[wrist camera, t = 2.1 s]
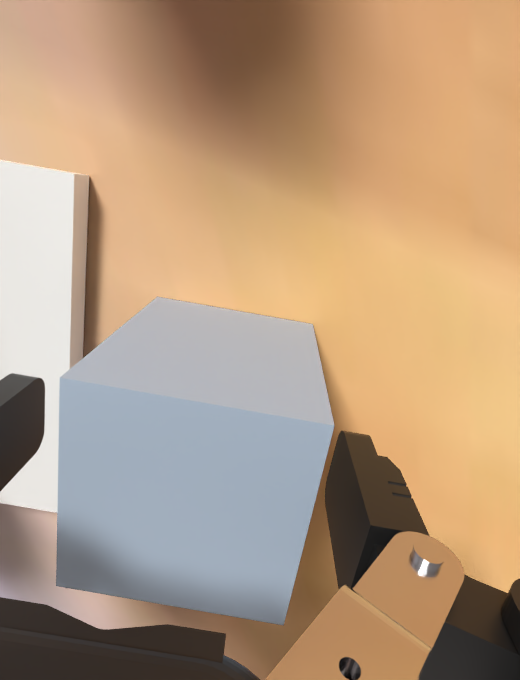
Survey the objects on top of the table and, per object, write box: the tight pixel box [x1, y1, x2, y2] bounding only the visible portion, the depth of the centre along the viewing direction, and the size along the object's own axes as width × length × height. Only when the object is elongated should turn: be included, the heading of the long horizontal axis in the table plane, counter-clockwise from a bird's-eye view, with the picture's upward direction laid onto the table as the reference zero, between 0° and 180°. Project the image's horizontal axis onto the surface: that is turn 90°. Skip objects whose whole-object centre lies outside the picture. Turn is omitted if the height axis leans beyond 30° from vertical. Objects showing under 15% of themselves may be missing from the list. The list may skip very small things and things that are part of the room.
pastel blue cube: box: [56, 297, 334, 625], centre depth 12 cm, size 5×5×7 cm
